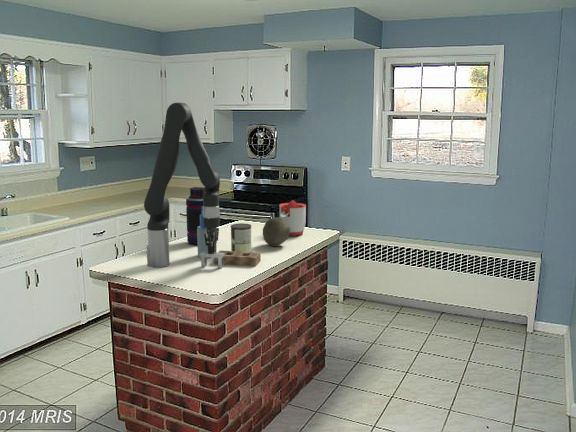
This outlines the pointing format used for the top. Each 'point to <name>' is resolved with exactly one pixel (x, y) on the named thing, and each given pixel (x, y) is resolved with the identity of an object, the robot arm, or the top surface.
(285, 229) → the cantaloupe
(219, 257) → the clip
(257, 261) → the wooden block with holes
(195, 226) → the dark navy bottle
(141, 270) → the top surface
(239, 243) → the coffee can
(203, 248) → the spray bottle
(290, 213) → the citrus juicer
